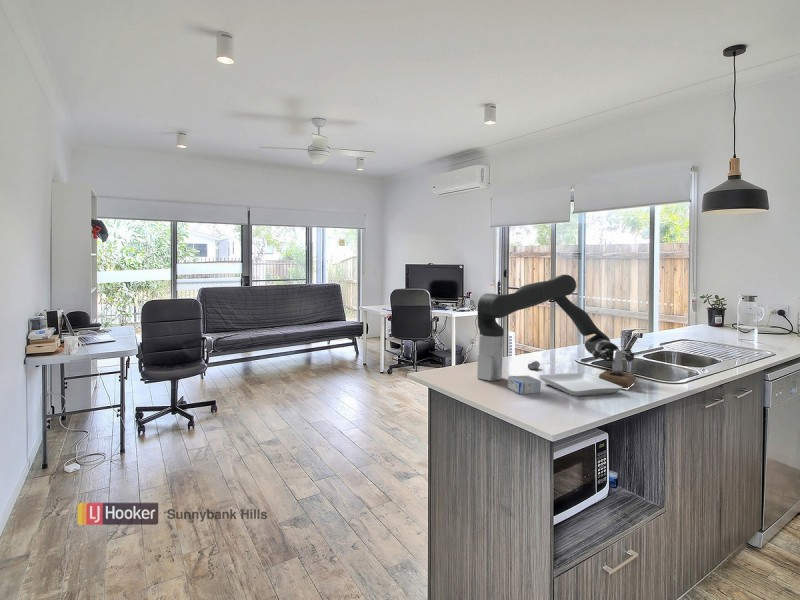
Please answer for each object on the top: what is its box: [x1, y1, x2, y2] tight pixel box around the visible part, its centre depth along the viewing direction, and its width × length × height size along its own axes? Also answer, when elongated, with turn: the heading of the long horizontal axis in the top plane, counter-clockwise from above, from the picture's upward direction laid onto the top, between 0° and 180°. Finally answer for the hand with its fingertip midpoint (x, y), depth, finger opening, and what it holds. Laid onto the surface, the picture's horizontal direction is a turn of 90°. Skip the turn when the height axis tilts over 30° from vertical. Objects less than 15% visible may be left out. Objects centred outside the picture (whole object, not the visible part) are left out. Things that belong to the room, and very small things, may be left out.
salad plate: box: [538, 372, 623, 397], centre depth 165 cm, size 21×21×3 cm
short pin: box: [527, 360, 541, 371], centre depth 195 cm, size 3×3×5 cm
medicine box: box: [507, 374, 542, 395], centre depth 161 cm, size 8×4×9 cm
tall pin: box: [611, 349, 623, 377], centre depth 171 cm, size 3×3×13 cm
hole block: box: [598, 369, 636, 388], centre depth 171 cm, size 10×10×4 cm
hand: (617, 358), depth 171 cm, fingers open, 8 cm apart
